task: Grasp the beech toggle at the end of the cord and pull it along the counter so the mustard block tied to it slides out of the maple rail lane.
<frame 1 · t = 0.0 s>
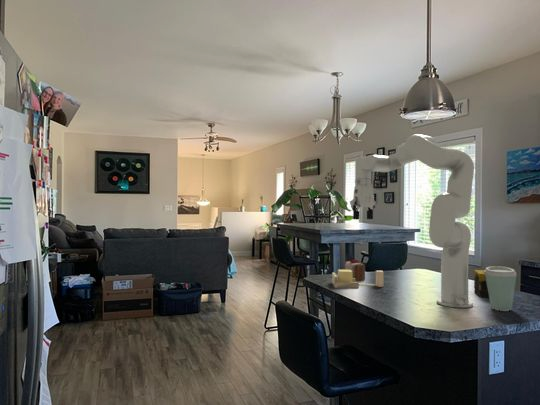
hand: (363, 219, 190), 31 cm above the countertop, tool pointing down, fingers open, 9 cm apart
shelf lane: (345, 285, 189), on the countertop
food item: (355, 278, 208), on the countertop
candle: (489, 296, 169), on the countertop
disposable coffee cup: (500, 309, 147), on the countertop
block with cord: (345, 285, 189), on the countertop
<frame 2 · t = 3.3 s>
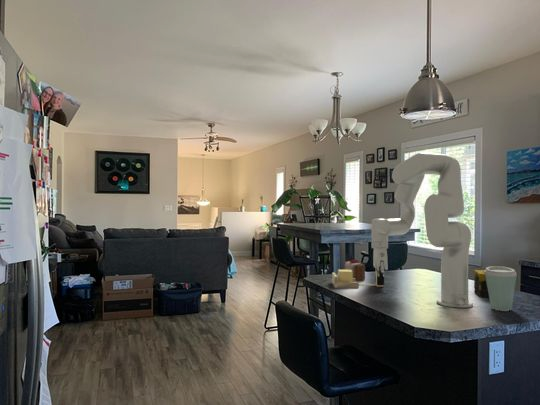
hand: (379, 283, 188), 1 cm above the countertop, tool pointing down, fingers closed on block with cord, 3 cm apart
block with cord: (345, 285, 189), on the countertop, touching gripper
everything else where it was.
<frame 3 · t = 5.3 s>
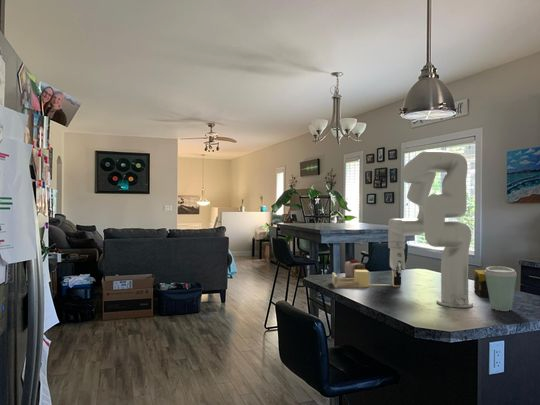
hand: (396, 283, 188), 1 cm above the countertop, tool pointing down, fingers closed on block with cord, 3 cm apart
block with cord: (361, 285, 189), on the countertop, touching gripper
everything else where it was.
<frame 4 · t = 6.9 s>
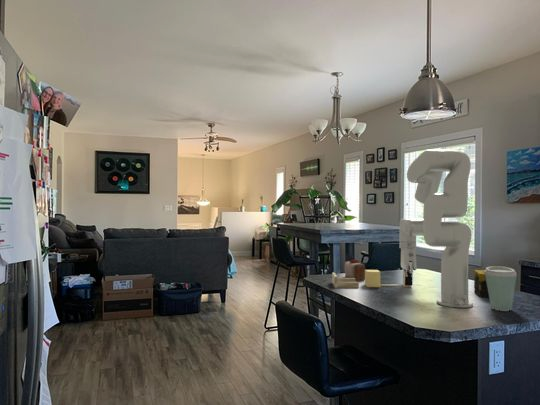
hand: (407, 284, 187), 1 cm above the countertop, tool pointing down, fingers closed on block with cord, 3 cm apart
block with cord: (372, 285, 188), on the countertop, touching gripper
everything else where it was.
when the fingers open (1 cm above the countertop, at t = 7.6 s): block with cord stays where it is, on the countertop.
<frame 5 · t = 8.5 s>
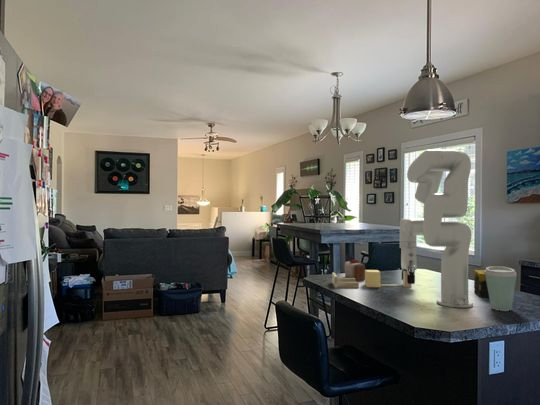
hand: (408, 281, 187), 2 cm above the countertop, tool pointing down, fingers open, 9 cm apart
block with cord: (372, 285, 188), on the countertop
everything else where it was.
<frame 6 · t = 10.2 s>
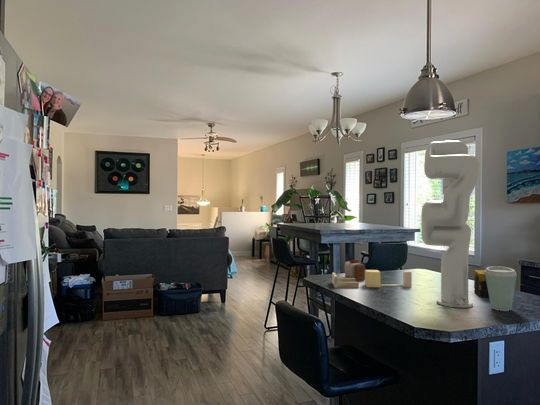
hand: (451, 229, 179), 27 cm above the countertop, tool pointing down, fingers open, 9 cm apart
nothing on the countertop moved.
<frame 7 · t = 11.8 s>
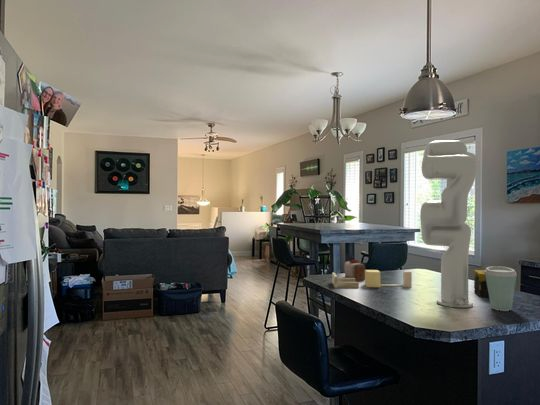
hand: (455, 227, 178), 28 cm above the countertop, tool pointing down, fingers open, 9 cm apart
nothing on the countertop moved.
at the end: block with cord inside the target area (2.5 cm from its centre), on the countertop; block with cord tilted 0°; the gripper is holding nothing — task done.
